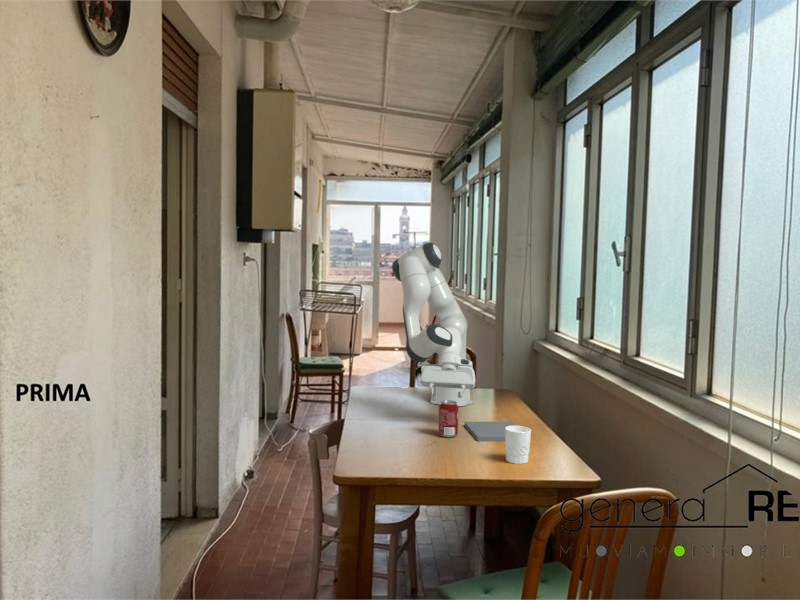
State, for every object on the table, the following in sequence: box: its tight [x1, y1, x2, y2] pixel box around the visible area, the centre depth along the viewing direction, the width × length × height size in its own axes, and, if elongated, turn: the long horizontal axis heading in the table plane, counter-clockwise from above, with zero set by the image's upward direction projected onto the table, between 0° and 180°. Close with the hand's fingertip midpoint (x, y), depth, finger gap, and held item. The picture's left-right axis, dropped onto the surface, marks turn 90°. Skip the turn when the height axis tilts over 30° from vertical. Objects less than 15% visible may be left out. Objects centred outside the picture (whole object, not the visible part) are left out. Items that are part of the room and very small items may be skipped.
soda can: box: [437, 400, 459, 439], centre depth 214 cm, size 7×7×12 cm
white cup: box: [504, 425, 532, 465], centre depth 188 cm, size 8×8×10 cm
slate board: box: [464, 421, 517, 442], centre depth 219 cm, size 20×18×2 cm
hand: (446, 396), depth 220 cm, fingers open, 8 cm apart
